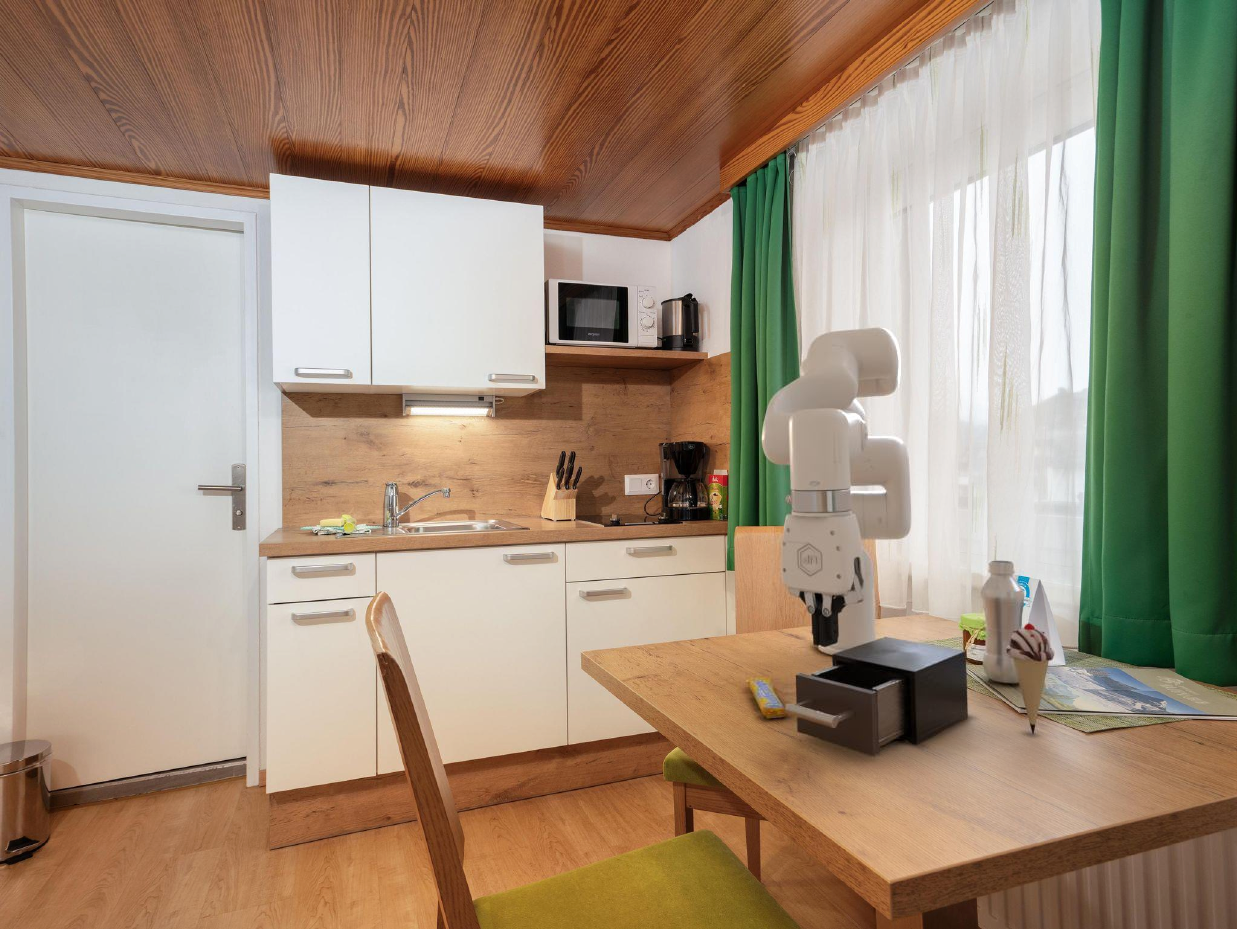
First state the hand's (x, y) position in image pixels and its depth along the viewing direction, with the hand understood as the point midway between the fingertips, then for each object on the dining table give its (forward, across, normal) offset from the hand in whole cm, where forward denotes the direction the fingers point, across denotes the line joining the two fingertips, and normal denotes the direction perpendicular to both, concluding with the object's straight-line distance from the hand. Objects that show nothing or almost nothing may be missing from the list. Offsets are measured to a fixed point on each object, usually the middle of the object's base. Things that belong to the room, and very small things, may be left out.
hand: (825, 643), depth 91 cm
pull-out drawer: (+13, +1, +4) cm, 14 cm away
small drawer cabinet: (+14, +1, +17) cm, 22 cm away
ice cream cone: (+14, +16, +24) cm, 32 cm away
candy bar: (+14, -17, +9) cm, 24 cm away
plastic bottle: (+14, +4, +45) cm, 47 cm away
